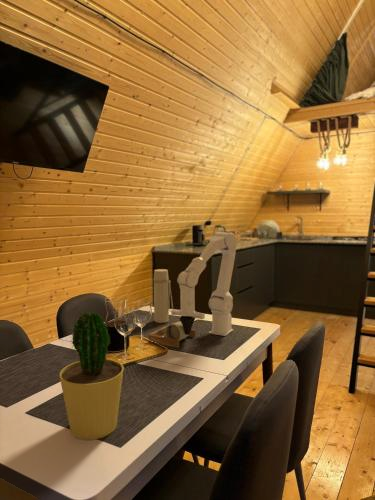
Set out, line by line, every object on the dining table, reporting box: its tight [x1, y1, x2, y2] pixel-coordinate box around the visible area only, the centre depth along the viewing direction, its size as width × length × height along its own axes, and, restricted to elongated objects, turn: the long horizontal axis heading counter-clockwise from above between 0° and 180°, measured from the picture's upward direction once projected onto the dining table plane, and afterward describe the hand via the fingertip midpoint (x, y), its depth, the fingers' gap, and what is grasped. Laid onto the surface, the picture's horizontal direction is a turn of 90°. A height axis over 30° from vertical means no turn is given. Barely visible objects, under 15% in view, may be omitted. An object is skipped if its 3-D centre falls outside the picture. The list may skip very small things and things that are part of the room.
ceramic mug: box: [162, 321, 189, 342], centre depth 160 cm, size 11×8×8 cm
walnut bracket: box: [147, 324, 197, 349], centre depth 161 cm, size 15×14×3 cm
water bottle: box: [153, 268, 174, 324], centre depth 184 cm, size 9×8×25 cm
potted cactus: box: [59, 311, 125, 441], centre depth 95 cm, size 15×15×30 cm
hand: (187, 334), depth 157 cm, fingers closed
